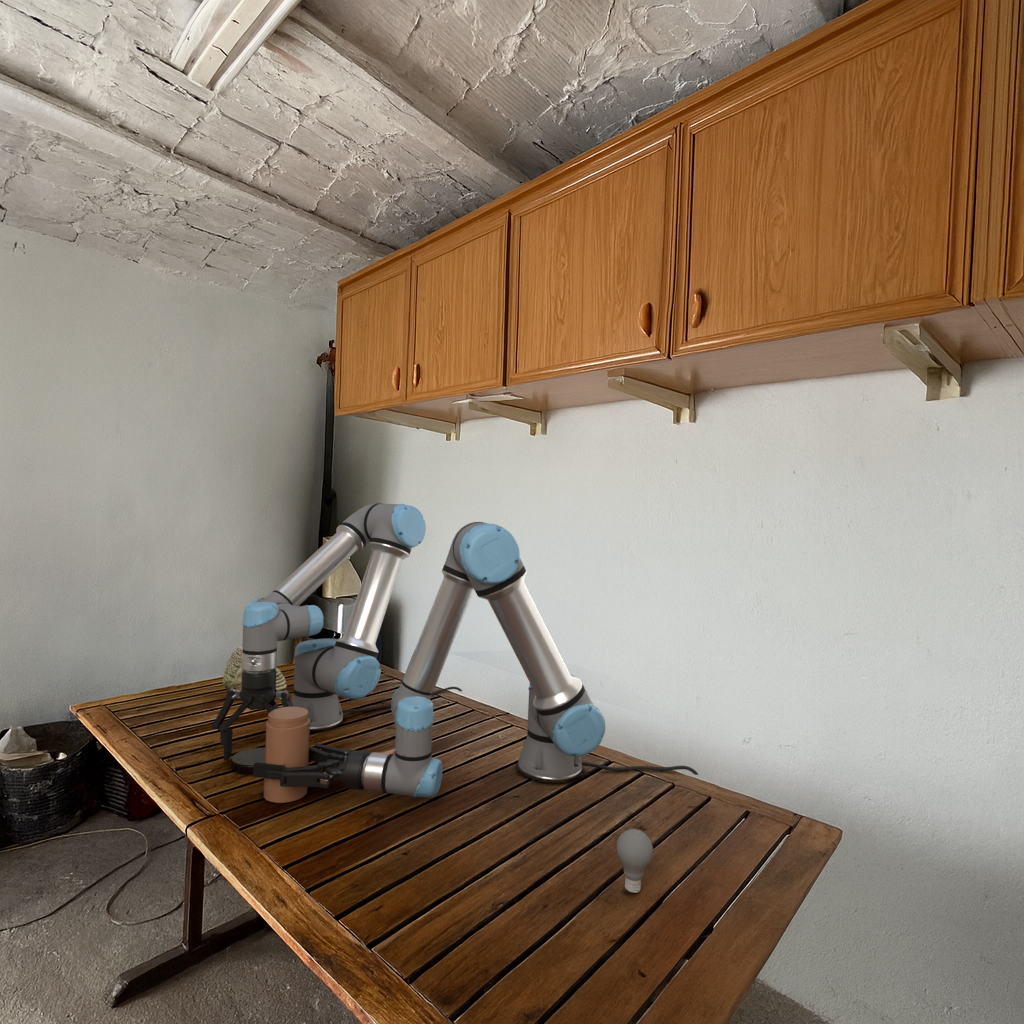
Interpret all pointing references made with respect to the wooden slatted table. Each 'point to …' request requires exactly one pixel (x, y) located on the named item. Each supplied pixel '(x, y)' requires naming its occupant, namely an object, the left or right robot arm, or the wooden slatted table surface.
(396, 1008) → the wooden slatted table surface
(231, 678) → the fossil
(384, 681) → the wooden slatted table surface
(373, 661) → the left robot arm
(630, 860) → the light bulb
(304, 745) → the jar
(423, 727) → the right robot arm
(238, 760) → the lid
